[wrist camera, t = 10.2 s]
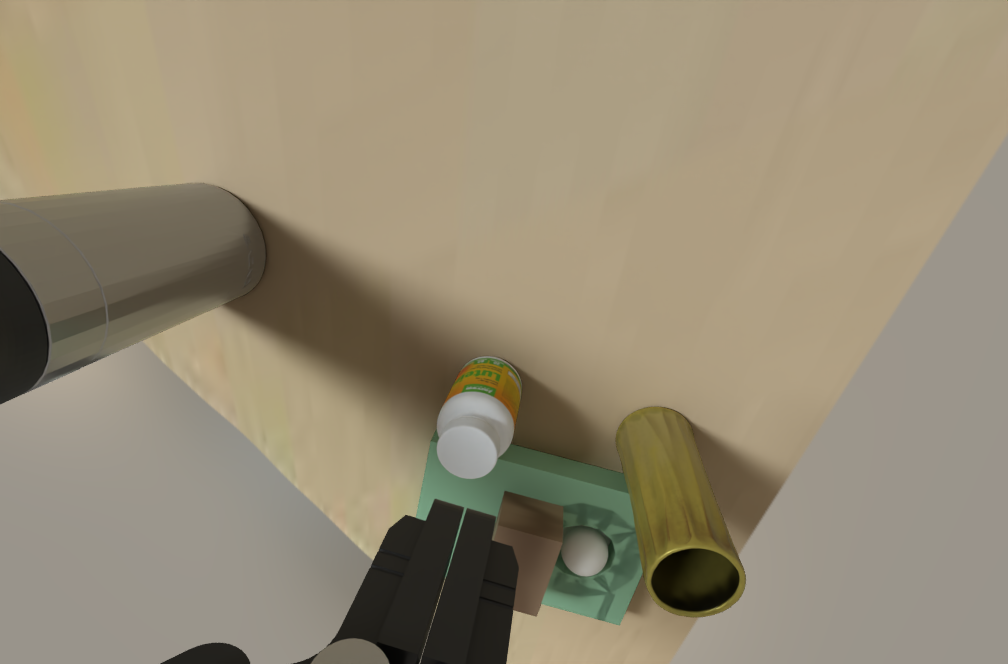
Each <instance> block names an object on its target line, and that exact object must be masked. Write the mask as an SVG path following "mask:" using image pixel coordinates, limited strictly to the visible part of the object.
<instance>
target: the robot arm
mask: <svg viewBox="0 0 1008 664" xmlns="http://www.w3.org/2000/svg"><path fill="white" fill-rule="evenodd" d="M265 261H266V250H265V243H264V239H263V235H262V232H261V230H260V228H259V226H258V224H257V221H256V220H255V218H254V217H253V215H252V214H251V213H250V211H249V210H248V209H247V208H246V207H245V206H244V205H243V204H242V202H241V201H240V200H239V199H237V198H236V197H234V196H233V195H232V194H230V193H229V192H227V191H225V190H223V189H221V188H219V187H217V186H213V185H209V184H205V183H187V184H176V185H165V186H151V187H140V188H129V189H118V190H107V191H96V192H85V193H74V194H63V195H52V196H41V197H30V198H19V199H8V200H0V404H2V403H4V402H6V401H9V400H11V399H13V398H15V397H17V396H19V395H22V394H25V393H27V392H29V391H31V390H33V389H36V388H38V387H40V386H42V385H45V384H47V383H49V382H52V381H54V380H56V379H58V378H60V377H63V376H65V375H67V374H69V373H72V372H74V371H76V370H78V369H80V368H82V367H84V366H86V365H89V364H91V363H93V362H96V361H98V360H100V359H102V358H105V357H107V356H109V355H111V354H114V353H116V352H118V351H120V350H122V349H125V348H127V347H129V346H131V345H134V344H136V343H138V342H140V341H143V340H145V339H147V338H149V337H152V336H154V335H156V334H158V333H161V332H163V331H165V330H167V329H169V328H172V327H174V326H176V325H178V324H181V323H183V322H185V321H187V320H190V319H192V318H194V317H196V316H199V315H201V314H203V313H205V312H208V311H210V310H212V309H214V308H217V307H219V306H221V305H223V304H225V303H227V302H230V301H232V300H234V299H236V298H238V297H241V296H243V295H245V294H247V293H248V292H249V291H251V290H252V289H253V288H254V287H255V286H256V285H257V283H258V282H259V280H260V279H261V276H262V274H263V271H264V268H265ZM463 511H464V507H462V506H459V505H455V504H452V503H448V502H445V501H442V500H438V499H434V501H433V504H432V506H431V509H430V511H429V514H428V516H427V519H426V521H425V520H421V519H418V518H415V517H411V516H408V515H405V516H404V517H403V518H402V519H400V520H399V521H398V522H397V523H395V524H394V525H393V526H392V527H391V528H389V530H388V532H387V534H386V536H385V538H384V540H383V542H382V544H381V546H380V549H379V551H378V552H377V554H376V556H375V558H374V560H373V563H372V565H371V568H370V569H369V571H368V573H367V575H366V577H365V579H364V581H363V583H362V585H361V587H360V589H359V591H358V593H357V595H356V597H355V600H354V601H353V603H352V605H351V607H350V609H349V611H348V613H347V615H346V618H345V620H344V622H343V624H342V626H341V628H340V630H339V631H338V633H337V635H336V636H335V638H334V639H333V640H332V642H331V643H330V644H329V645H328V646H327V647H326V648H324V649H323V650H322V651H320V652H319V653H318V654H316V655H314V656H312V657H311V658H309V659H306V660H304V661H301V662H297V663H293V664H419V662H420V659H421V656H422V659H421V663H420V664H506V661H507V654H508V646H509V639H510V631H511V624H512V616H513V607H514V601H515V594H516V593H515V591H516V586H517V578H518V571H519V566H518V562H517V559H516V556H515V553H514V550H513V546H510V545H506V544H503V543H499V542H496V541H493V540H492V536H493V531H494V526H495V522H496V516H493V515H490V514H486V513H483V512H480V511H476V510H473V509H469V508H467V509H466V513H465V516H464V519H463V523H462V526H461V529H460V532H459V536H458V539H457V542H456V546H455V549H454V552H453V548H454V544H455V541H456V537H457V533H458V530H459V526H460V522H461V518H462V515H463ZM452 552H453V556H452ZM451 556H452V559H451ZM450 559H451V562H450ZM449 563H450V566H449ZM448 566H449V569H448ZM447 570H448V572H447ZM446 573H447V576H446ZM445 577H446V579H445ZM444 580H445V582H444ZM443 583H444V586H443ZM442 587H443V589H442ZM441 590H442V592H441ZM440 593H441V596H440ZM439 597H440V599H439ZM438 600H439V602H438ZM437 603H438V605H437ZM436 606H437V609H436ZM435 610H436V612H435ZM434 613H435V615H434ZM433 616H434V619H433ZM432 620H433V622H432ZM431 623H432V625H431ZM430 626H431V629H430ZM429 630H430V632H429ZM428 632H429V636H428ZM427 636H428V639H427ZM426 639H427V642H426ZM425 643H426V646H425ZM424 646H425V649H424ZM423 649H424V652H423ZM422 653H423V655H422ZM161 664H250V661H249V659H248V657H247V656H246V654H245V653H244V652H243V651H242V650H240V649H239V648H237V647H235V646H233V645H230V644H226V643H209V644H204V645H200V646H197V647H195V648H192V649H189V650H187V651H185V652H183V653H181V654H179V655H177V656H175V657H173V658H171V659H169V660H167V661H165V662H163V663H161Z"/></svg>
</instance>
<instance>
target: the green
mask: <svg viewBox="0 0 1008 664" xmlns="http://www.w3.org/2000/svg"><path fill="white" fill-rule="evenodd" d="M438 440H439V436H438V433H437V429H436V431H435V433H434V436H433V438H432V440H431V443H430V448H429V453H428V458H427V463H426V469H425V474H424V479H423V484H422V489H421V494H420V499H419V504H418V509H417V515H416V518H418V519H421V520H425V521H426V519H427V516H428V514H429V511H430V509H431V506H432V504H433V501H434V499H438V500H442V501H445V502H448V503H452V504H455V505H459V506H462V507H464V511H463V515H462V518H461V522H460V526H459V530H458V533H457V537H456V541H455V544H454V548H453V552H454V549H455V546H456V542H457V539H458V536H459V532H460V529H461V526H462V523H463V519H464V516H465V513H466V509H467V508H469V509H473V510H476V511H480V512H483V513H486V514H490V515H493V516H496V520H497V516H498V513H499V509H500V505H501V502H502V498H503V495H504V491H508V492H512V493H516V494H519V495H523V496H527V497H530V498H534V499H538V500H541V501H545V502H549V503H552V504H556V505H560V506H563V538H564V536H565V535H566V534H567V532H568V531H570V530H571V529H572V528H574V527H577V526H588V527H592V528H594V529H596V530H597V531H598V532H600V533H601V535H602V536H603V537H604V539H605V541H606V543H607V547H608V559H607V562H606V564H605V566H604V568H603V569H602V570H601V571H600V572H599V573H597V574H595V575H593V576H587V577H585V576H580V575H577V574H575V573H573V572H572V571H571V570H570V569H569V568H568V567H567V566H566V564H565V563H564V561H563V558H562V554H561V549H560V552H559V555H558V558H557V561H556V563H555V566H554V569H553V572H552V575H551V578H550V580H549V583H548V586H547V589H546V592H545V594H544V597H543V600H542V603H541V604H544V605H547V606H551V607H555V608H558V609H562V610H565V611H569V612H573V613H576V614H580V615H584V616H587V617H591V618H594V619H598V620H602V621H605V622H609V623H613V624H616V625H620V623H621V621H622V619H623V616H624V614H625V612H626V610H627V607H628V605H629V603H630V601H631V598H632V596H633V594H634V592H635V589H636V587H637V585H638V583H639V580H640V578H641V576H642V574H643V571H642V566H641V560H640V554H639V547H638V541H637V535H636V530H635V524H634V516H633V510H632V506H631V501H630V495H629V492H628V488H627V484H626V480H625V477H624V474H623V473H619V472H615V471H611V470H608V469H604V468H600V467H596V466H592V465H589V464H585V463H581V462H577V461H573V460H570V459H566V458H562V457H558V456H555V455H551V454H547V453H543V452H539V451H536V450H532V449H528V448H524V447H520V446H517V445H513V444H510V446H509V447H508V449H507V450H506V451H505V452H504V453H503V454H502V455H501V456H500V457H498V459H497V462H496V465H495V466H494V468H493V469H492V470H491V471H490V472H489V473H488V474H487V475H485V476H483V477H480V478H476V479H465V478H461V477H458V476H455V475H453V474H452V473H450V472H449V471H447V470H446V469H445V468H444V467H443V465H442V464H441V462H440V461H439V458H438V455H437V443H438ZM495 523H496V522H495ZM494 527H495V526H494ZM453 552H452V556H453ZM452 556H451V559H452ZM451 559H450V562H451ZM449 566H450V563H449ZM449 566H448V569H449ZM447 572H448V570H447ZM446 576H447V573H446Z"/></svg>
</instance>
